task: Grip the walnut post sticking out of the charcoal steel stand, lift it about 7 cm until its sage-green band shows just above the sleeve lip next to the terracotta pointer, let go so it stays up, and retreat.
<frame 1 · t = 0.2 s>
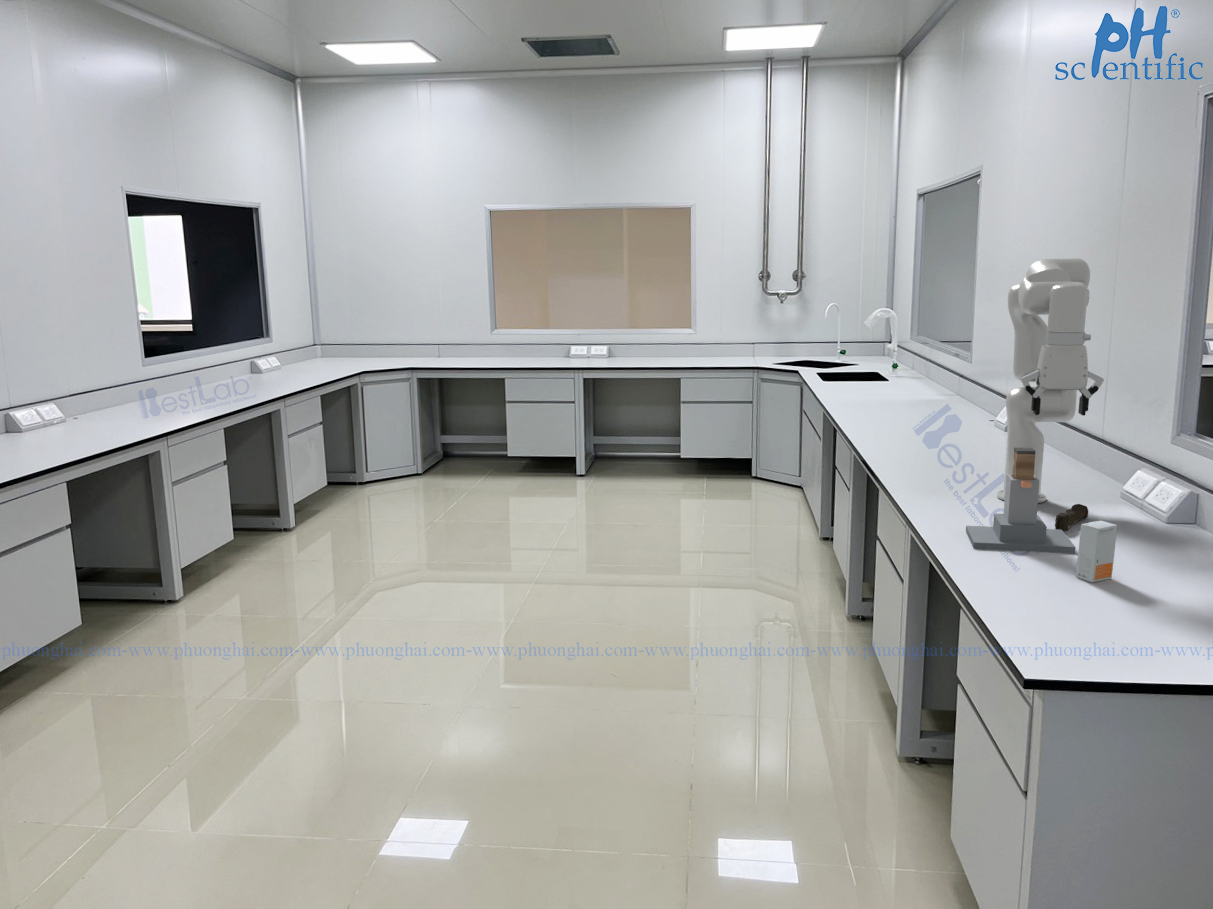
hand: (1058, 414, 212), 32 cm above the table, fingers open, 9 cm apart
skincare box: (1094, 579, 197), on the table
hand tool: (1070, 527, 234), on the table
post: (1022, 483, 219), point 14 cm above the table, slide at 0.0 cm
stand base: (1018, 541, 222), on the table
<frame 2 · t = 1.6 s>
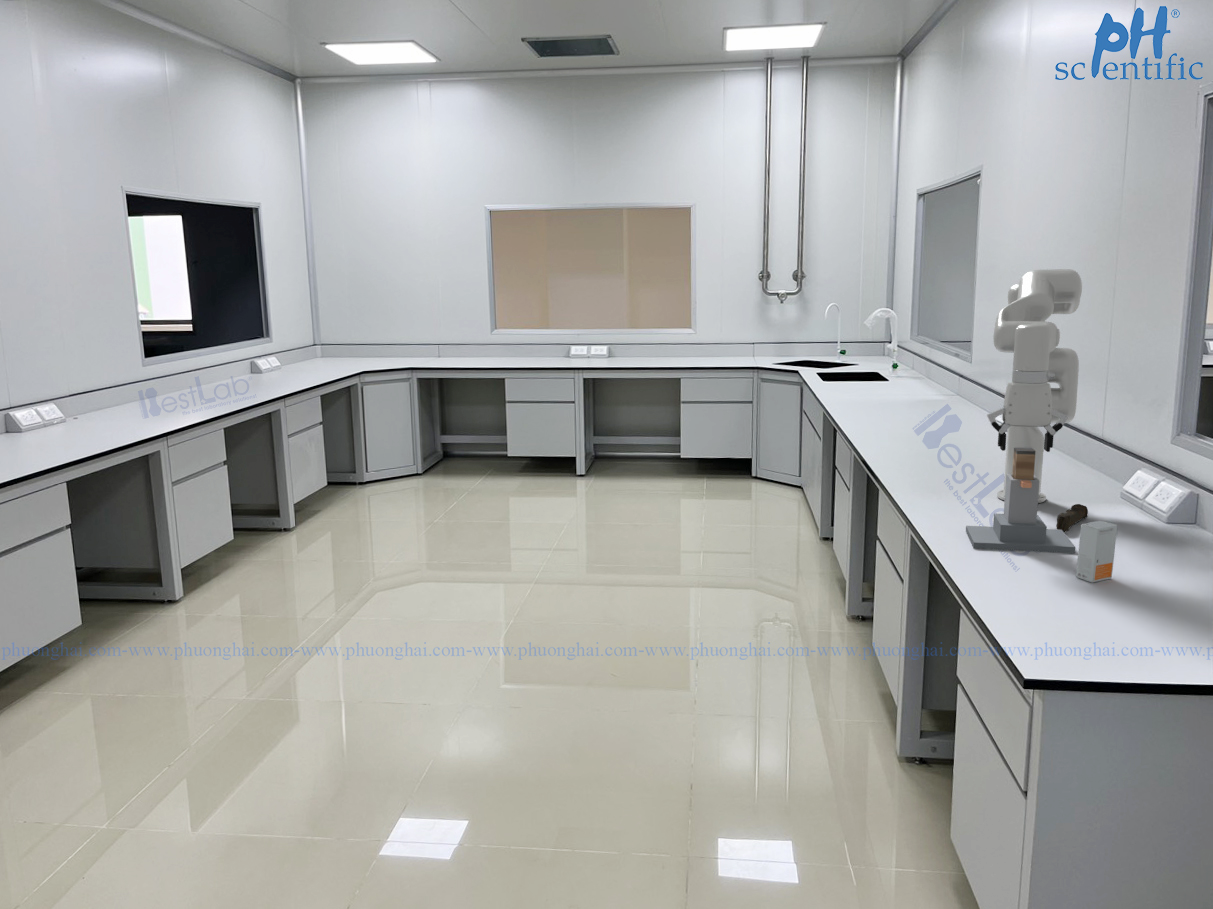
hand: (1024, 450, 217), 23 cm above the table, fingers open, 9 cm apart
nothing on the table moved.
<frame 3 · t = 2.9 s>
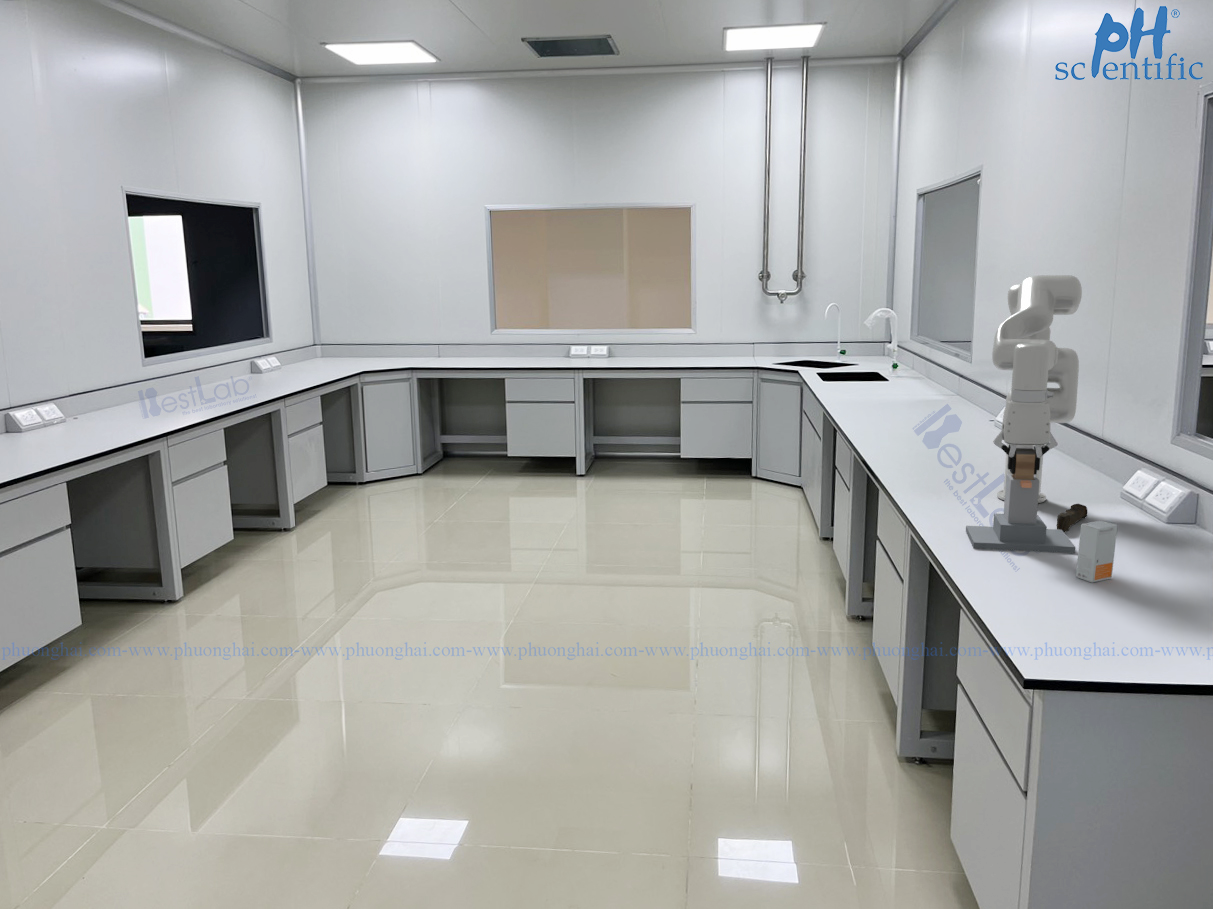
hand: (1023, 472, 218), 17 cm above the table, fingers closed on post, 4 cm apart
post: (1022, 483, 219), point 14 cm above the table, slide at 0.0 cm, touching gripper
everything else where it was.
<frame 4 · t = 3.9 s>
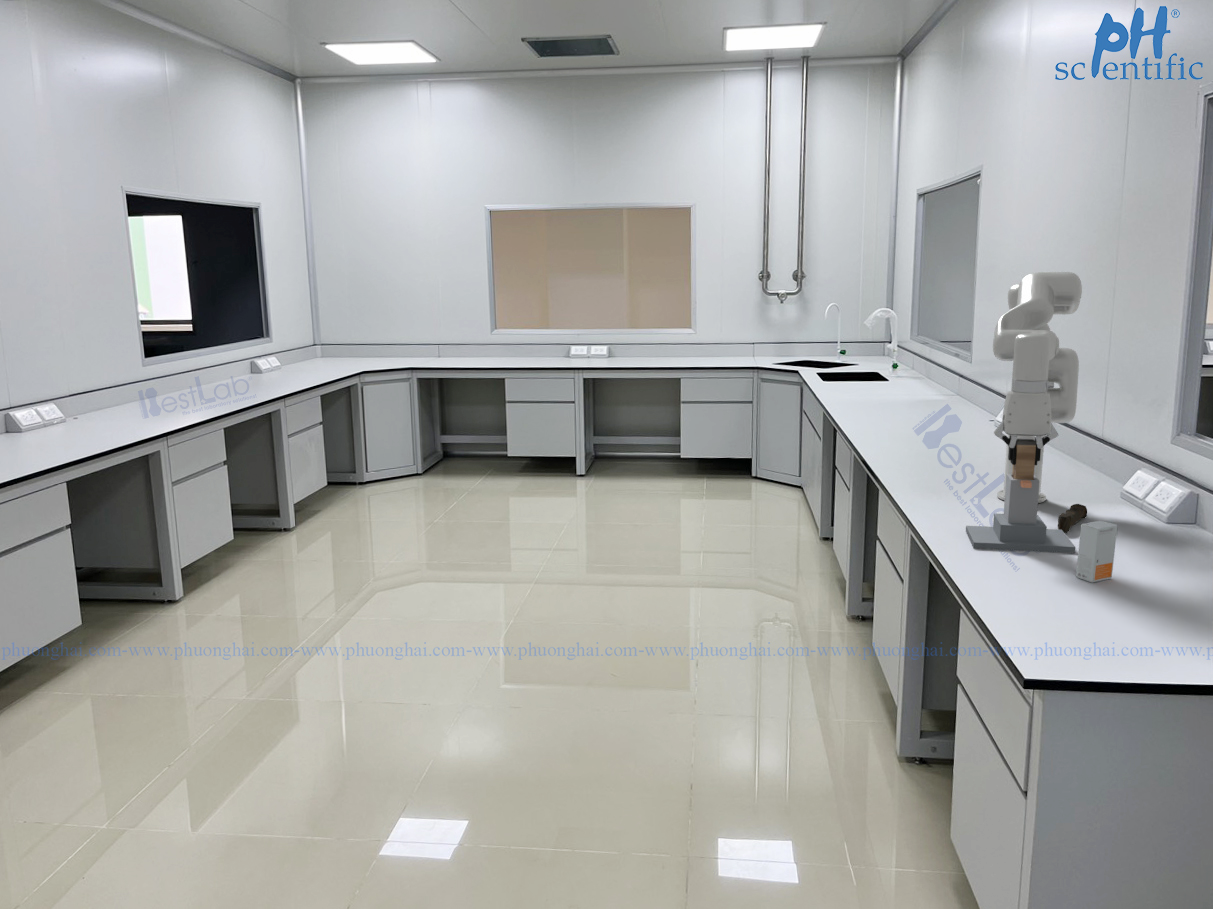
hand: (1023, 462, 218), 19 cm above the table, fingers closed on post, 4 cm apart
post: (1022, 474, 218), point 17 cm above the table, slide at 2.2 cm, touching gripper
everything else where it was.
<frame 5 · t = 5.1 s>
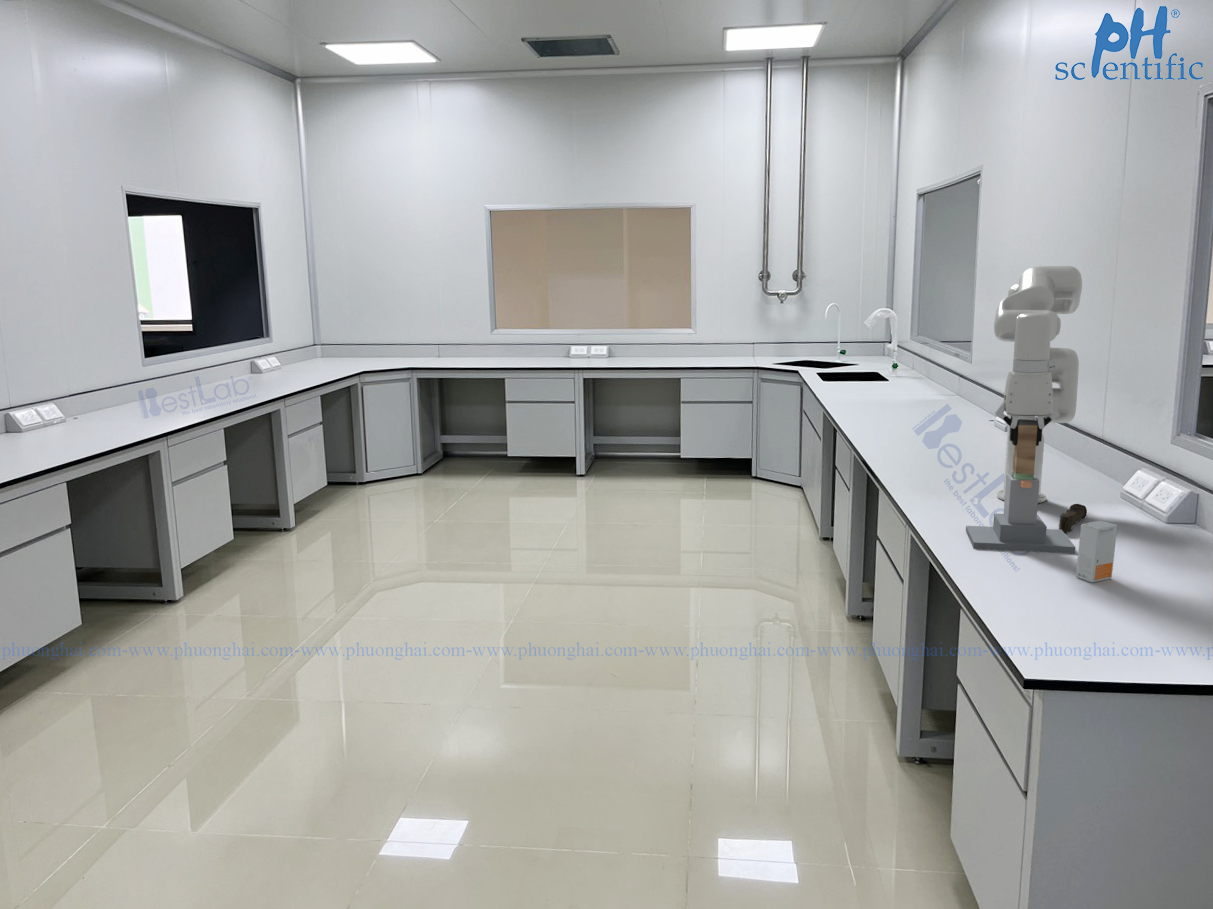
hand: (1025, 443, 217), 24 cm above the table, fingers closed on post, 4 cm apart
post: (1024, 455, 217), point 21 cm above the table, slide at 6.9 cm, touching gripper
everything else where it was.
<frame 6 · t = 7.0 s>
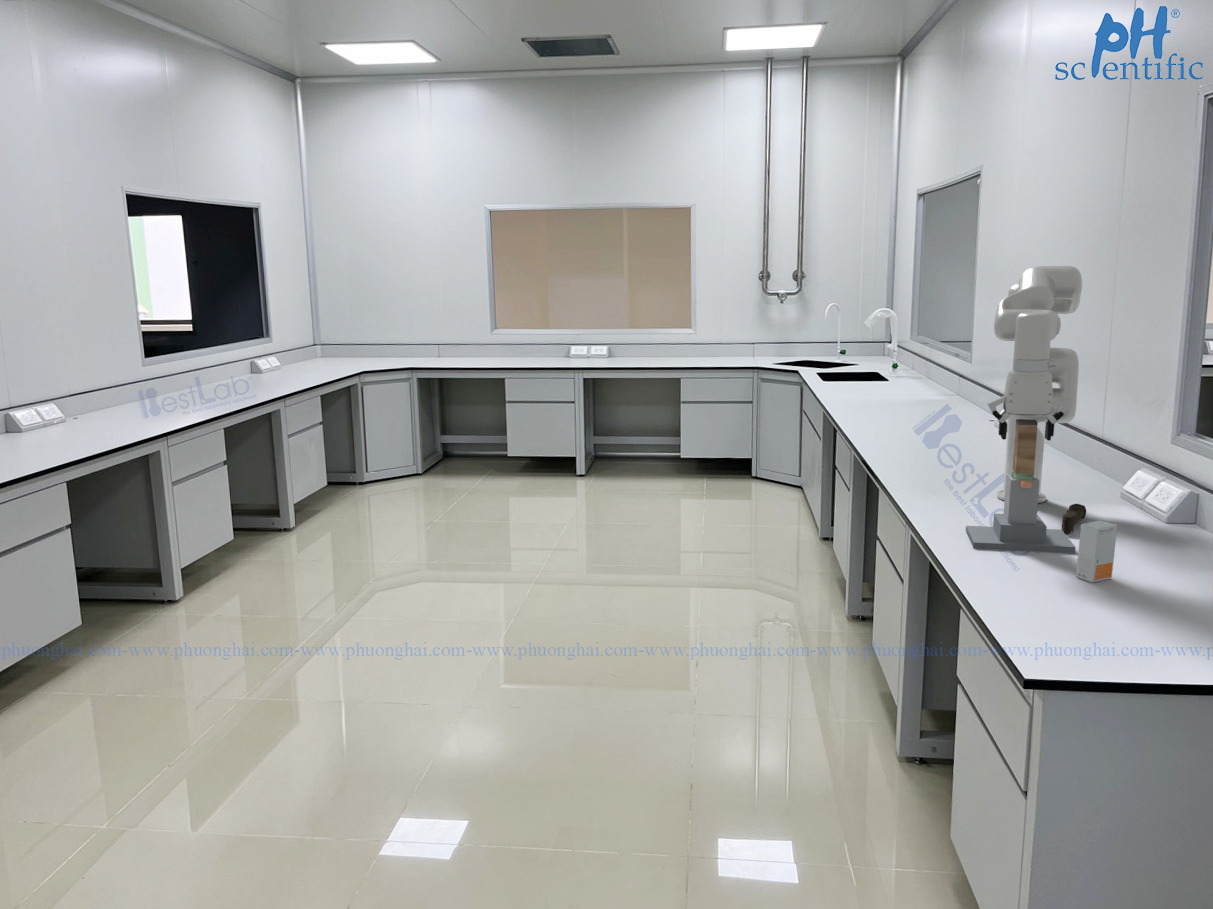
hand: (1025, 438, 217), 25 cm above the table, fingers open, 9 cm apart
post: (1024, 455, 217), point 21 cm above the table, slide at 6.9 cm
everything else where it was.
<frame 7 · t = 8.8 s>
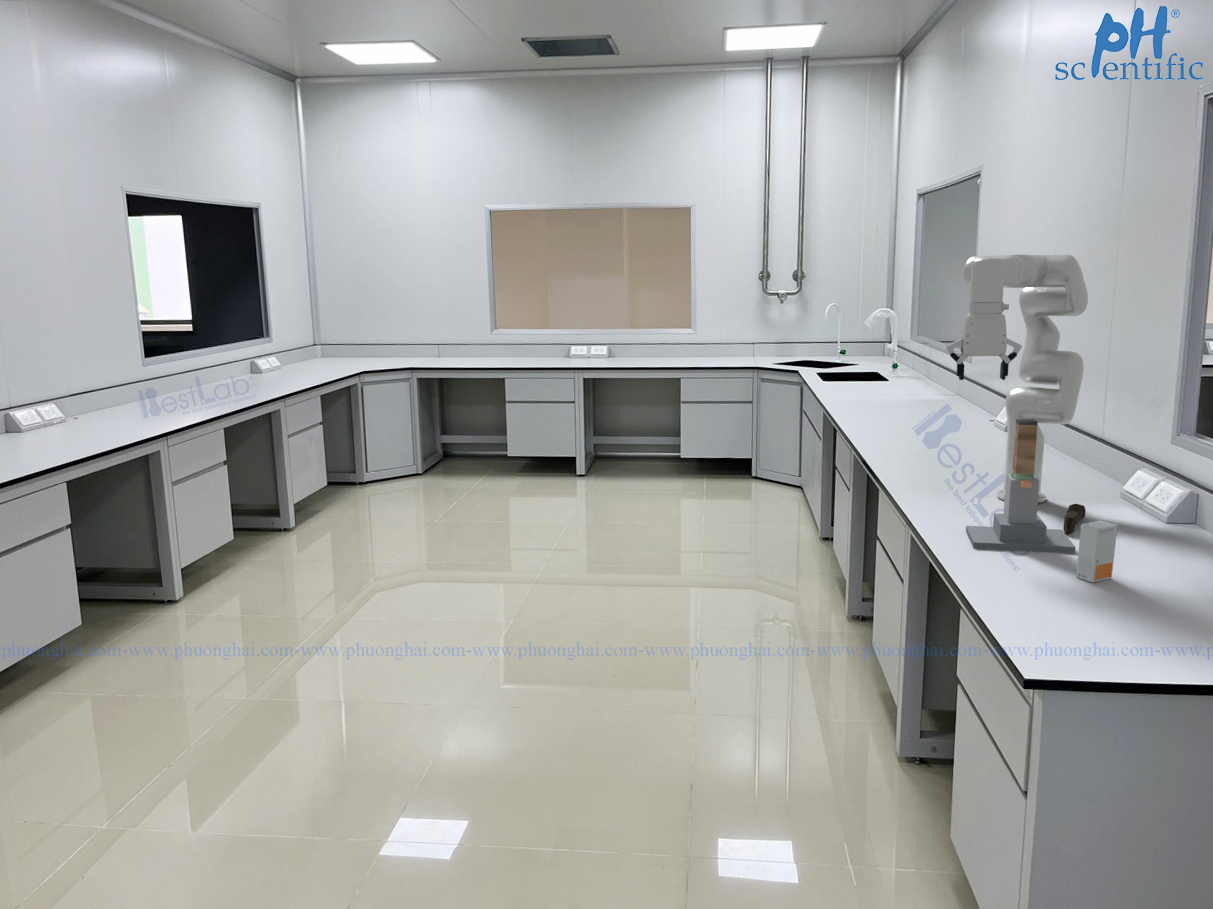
hand: (981, 379, 228), 38 cm above the table, fingers open, 9 cm apart
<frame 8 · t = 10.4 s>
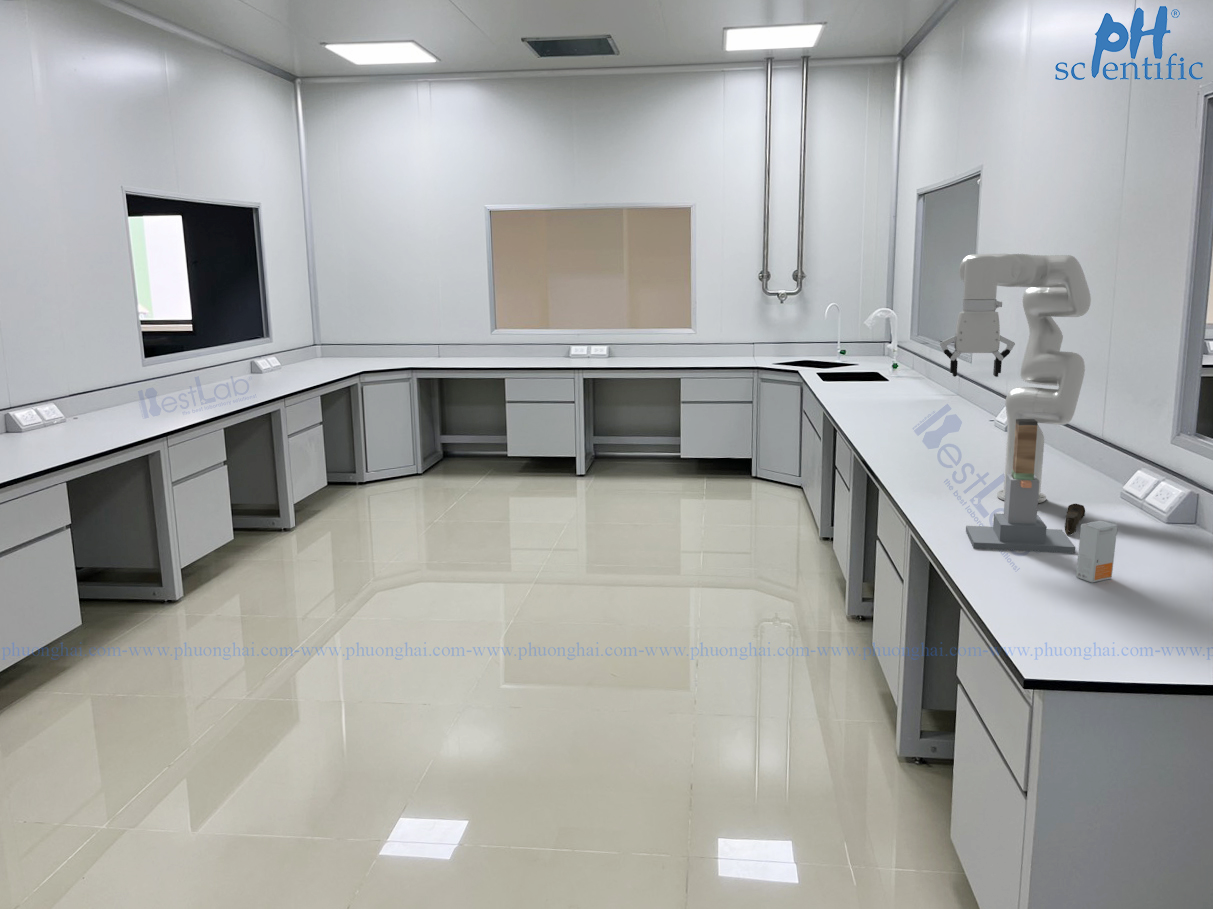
hand: (975, 376, 230), 38 cm above the table, fingers open, 9 cm apart
at the end: post slide at 6.9 cm; the gripper is holding nothing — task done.
